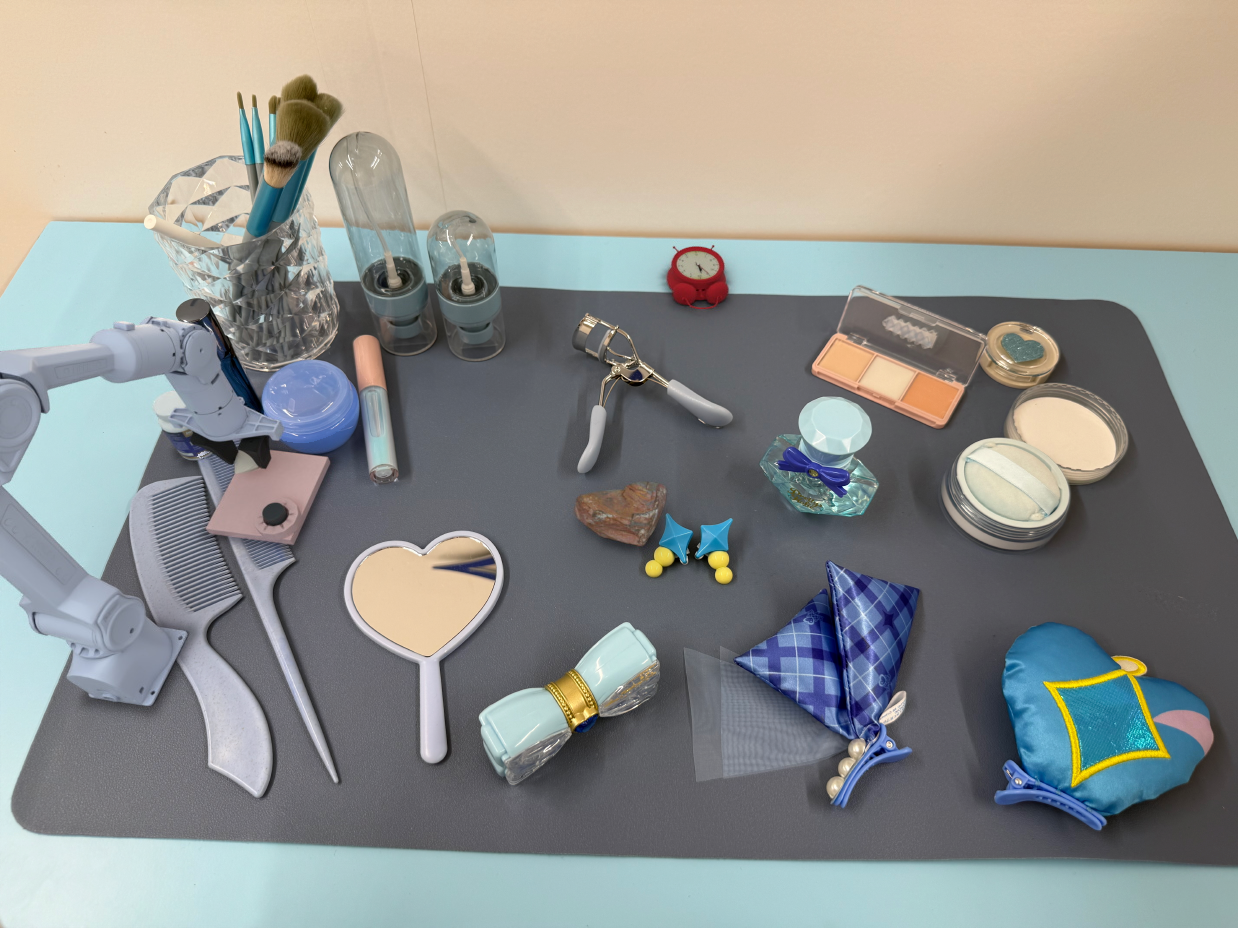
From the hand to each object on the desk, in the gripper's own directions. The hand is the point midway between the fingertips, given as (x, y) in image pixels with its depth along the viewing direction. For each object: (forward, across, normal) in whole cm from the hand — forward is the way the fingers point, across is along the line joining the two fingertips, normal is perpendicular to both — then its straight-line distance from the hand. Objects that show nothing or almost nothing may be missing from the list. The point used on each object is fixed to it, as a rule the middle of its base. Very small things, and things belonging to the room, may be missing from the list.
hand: (250, 461), depth 108 cm
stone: (+4, -53, +2) cm, 53 cm away
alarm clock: (+4, -59, -50) cm, 77 cm away
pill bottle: (+4, +11, -4) cm, 12 cm away
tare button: (+1, -7, +7) cm, 10 cm away
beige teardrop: (+2, 0, 0) cm, 2 cm away
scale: (+4, -3, +3) cm, 6 cm away
